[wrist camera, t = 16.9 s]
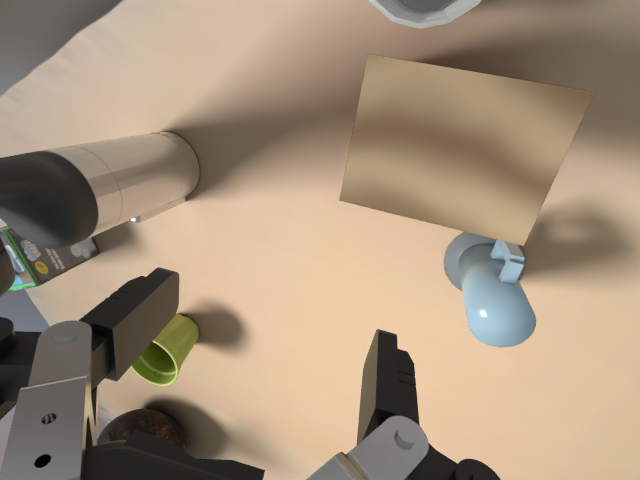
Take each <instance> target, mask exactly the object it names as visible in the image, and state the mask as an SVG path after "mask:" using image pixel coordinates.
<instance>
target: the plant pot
mask: <svg viewBox="0 0 640 480" xmlns="http://www.w3.org/2000/svg"><path fill="white" fill-rule="evenodd" d="M198 335H199V330H198V327H197V325H196V324H195V323H194V322H193V321H192V320H191V319H190V318H189V317H184V316H181V315H180V314H176V315H175V316H174V317H173V319H172V320H171V321H170V322H169V323H168V324H167V326H166V327H165V328H164V329H163V330H162V331H161V332H160V333H159V335H158V336H157V337H156V338H155V339H154V340H153V341H152V342H151V344H150V345H149V346H148V347H147V348H146V349H145V350H144V352H143V353H142V354H141V355H140V356H139V357H138V358H137V359H136V361H135V362H134V363H133V364H132V365H131V366H130V367H131V368H132V369H133V370H134V371H135V373H136V374H138V375H139V376H140V377H141V378H142V379H144V380H146V381H148V382H150V383H152V384H155V385H159V386H166V385H170V384H172V383H173V382H174V381H175V380H176V379H177V377H178V374H179V370H180V368H181V364H182V363H183V361H184V360H185V358H186V357H187V355H188V353H189V352H190V350H191V349H192V347H193V346H194V344H195V343H196V341H197V340H198V338H199V336H198Z"/></svg>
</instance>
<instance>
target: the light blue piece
mask: <svg viewBox="0 0 640 480" xmlns="http://www.w3.org/2000/svg"><path fill="white" fill-rule="evenodd" d="M524 259H525V257H524V256H523V254H522V252H521V250H520V249H519V247H518V245H517V244H514V243H510V242H506V241H501V240H497V241H496V243H495V245H493V244H488V243H480V244H476V245H473V246H471V247H469V248H467V249H466V250H465V251H464V252H463V253H462V254H461V256H460V258H459V261H458V268H459V274H460V279H461V285H462V291H463V297H464V303H465V308H466V314H467V320H468V326H469V329H470V331H471V333H472V334H473V335H474V336H475V337H476V338H477V339H478V340H479V341H481V342H483V343H485V344H487V345H490V346H494V347H511V346H515V345H518V344H520V343H522V342H524V341H525V340H527V339H528V338H529V337H530V336H531V335H532V333H533V332H534V329H535V326H536V317H535V314H534V312H533V310H532V308H531V305H530V303H529V301H528V299H527V297H526V295H525V293H524V291H523V289H522V287H521V284H520V282H519V280H518V277H519V275H520V272H521V270H522V268H523V266H524V264H523V261H524Z"/></svg>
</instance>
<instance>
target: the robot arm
mask: <svg viewBox="0 0 640 480" xmlns="http://www.w3.org/2000/svg"><path fill="white" fill-rule="evenodd" d="M199 176H200V168H199V163H198V160H197V157H196V154H195V153H194V151H193V149H192V148H191V146H190V145H189V144H188V143H187V142H186V141H185V140H184V139H183V138H181V137H180V136H178V135H176V134H173V133H170V132H158V133H151V134H145V135H138V136H131V137H125V138H119V139H112V140H106V141H99V142H93V143H87V144H80V145H74V146H68V147H62V148H55V149H49V150H42V151H37V152H31V153H25V154H20V155H15V156H9V157H4V158H0V218H1V219H2V220H3V221H4V222H5V223H6V224H7V225H8V226H9V227H11V228H12V229H13V230H14V231H15V232H16V233H17V234H18V235H20V236H21V237H22V238H24V239H25V240H27V241H29V242H30V243H32V244H34V245H37V246H39V247H43V248H47V249H62V248H66V247H69V246H72V245H74V244H76V243H79V242H81V241H83V240H85V239H88V238H90V237H92V236H95V235H97V234H99V233H101V232H104V231H106V230H108V229H110V228H113V227H115V226H117V225H120V224H122V223H124V222H126V221H129V220H131V221H133V222H135V223H140V222H142V221H144V220H146V219H149V218H151V217H153V216H155V215H157V214H160V213H162V212H164V211H166V210H168V209H170V208H173V207H175V206H177V205H179V204H181V203H183V202H185V199H186V196H187V195H188V194H190V193H191V192H192V191H193V190H194V189H195V188H196V186H197V183H198V181H199ZM14 281H15V271H14V267H13V264H12V261H11V259H10V257H9V254H8V252H7V250H6V248H5V247H4V244H3V241H2V239H1V237H0V296H2V295H3V294H4V293H5V292H6V291H8V290H9V289H10V288H11V286H12V285H13V283H14ZM178 304H179V274H178V273H177V272H174V271H170V270H167V269H163V268H157V269H155V270H154V271H153V272H152V273H150V274H149V275H148V276H147V277H144V276H140V277H138V278H135V279H133V280H130V281H128V282H127V283H125V284H124V285H123V286H122V287H120V288H119V289H118V291H115V292H114V293H113V294H111V295H110V297H109V298H106V299H105V300H104V301H103V302H101V303H100V304H99V305H98V306H96V307H95V308H94V309H93V310H91V311H90V312H89V313H88V314H86V315H85V316H84V317H82V318H81V319H80V320H79V321H64V322H60V323H57V324H54V325H52V326H50V327H49V328H47V329H46V330H44V331H43V332H17V331H15V329H14V325H13V323H12V321H11V320H9V319H7V318H3V317H0V420H1V419H2V418H3V417H4V416H5V415H6V414H7V413H8V412H9V411H10V410H11V409H12V408H13V407H14V406H15V405H16V407H15V412H14V416H13V420H12V424H11V429H10V433H9V437H8V441H7V446H6V450H5V454H4V458H3V462H2V467H1V471H0V480H263V477H264V472H265V470H262V469H259V468H256V467H253V466H249V465H246V464H243V463H240V462H237V461H234V460H215V459H195V458H193V457H191V456H190V455H188V454H187V453H185V452H184V451H182V450H181V449H179V448H178V447H176V446H175V445H174V444H172V443H171V442H169V441H168V440H166V439H163V438H160V437H157V436H154V435H151V434H148V433H144V432H141V431H138V430H135V429H134V431H133V432H132V434H131V435H130V436H129V438H128V439H127V440H118V441H111V442H105V443H102V444H98V445H97V421H98V384H99V383H100V382H101V381H102V380H103V379H104V378H107V379H110V380H113V381H116V382H117V381H118V380H119V379H120V378H121V376H122V375H123V374H124V373H125V372H126V371H127V370H128V368H129V367H130V366H131V365H132V364H133V363H134V362H135V361H136V359H137V358H138V357H139V356H140V355H141V354H142V353H143V352H144V350H145V349H146V348H147V347H148V346H149V345H150V344H151V342H152V341H153V340H154V339H155V338H156V337H157V336H158V335H159V333H160V332H161V331H162V330H163V329H164V328H165V327H166V326H167V324H168V323H169V322H170V321H171V320H172V319H173V317H174V316H175V314H176V311H177V309H178ZM415 386H416V382H415V371H414V363H413V361H412V359H411V357H410V356H409V354H408V352H407V351H403V350H399V349H397V335H396V334H393V333H390V332H386V331H383V330H379V329H377V330H376V333H375V335H374V338H373V341H372V344H371V346H370V349H369V352H368V355H367V358H366V361H365V365H364V369H363V377H362V389H361V400H360V412H359V424H358V436H357V446H356V447H355V448H353V449H352V450H351V451H350V452H349V453H347V454H344V453H343V452H340V453H338V454H336V455H335V456H334V457H332V458H331V459H330V460H329V461H328V462H327V463H325V464H324V465H323V466H322V467H321V468H319V469H318V470H317V471H316V472H315V473H314V474H312V475H311V476H310V477H309V478H308V479H306V480H500V478H499V477H498V476H497V474H496V473H495V472H494V471H493V470H492V469H491V468H489V467H488V466H487V465H485V464H484V463H482V462H480V461H477V460H474V459H464V460H462V461H460V462H459V463H458V464H457V463H456V462H454V461H452V460H451V459H449V458H448V457H446V456H444V455H443V454H441V453H440V452H438V451H437V450H436V449H434V448H433V447H432V446H431V445H430V444H429V443H428V439H427V437H426V434H425V433H424V431H423V430H422V428H421V427H420V425H419V416H418V404H417V393H416V387H415Z"/></svg>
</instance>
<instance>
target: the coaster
mask: <svg viewBox="0 0 640 480" xmlns="http://www.w3.org/2000/svg"><path fill="white" fill-rule="evenodd" d="M496 241H497V239H493V238H489V237H485V236H481V235H477V234H473V233H469V232H464V233H462V234H460V235H459V236H457V237H456V238H455V239H454V240H453V241H452V242H451V243H450V245H449V246H448V248H447V250H446V252H445V256H444V268H445V272H446V275H447V277H448V279H449V280H450V281H451V283H452V284H453V285H454V286H455V287H457V288H458V289H460V290H461V291H462V285H461V279H460V274H459V268H458V261H459V258H460V256H461V254H462V253H463V252H464V251H465V250H466V249H467V248H469V247H471V246H473V245H476V244H480V243H488V244H493V245H495V243H496ZM517 245H518V244H517ZM518 247H519V249H520V250H521V252H522V254H523V256H524V257H525V254H524V251H523V249H522V247H521V246H520V245H518ZM523 264H524V266H523V268H522V270H521V272H520V275H519V277H518V280H519V279H520V278H521V276H522V274H523V272H524V269H525V259H524V261H523Z"/></svg>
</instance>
